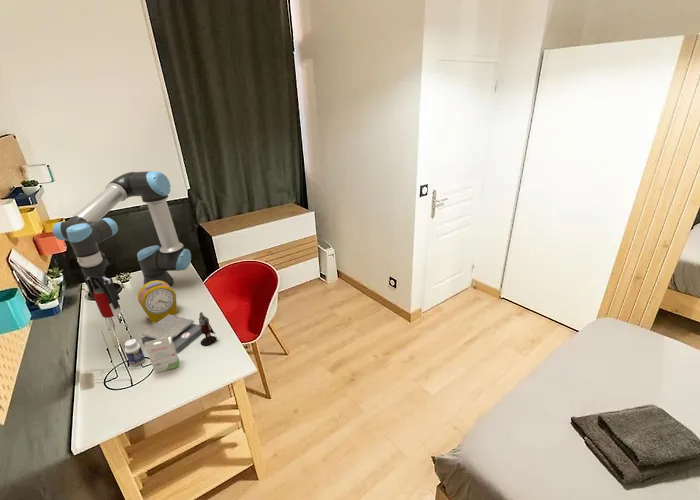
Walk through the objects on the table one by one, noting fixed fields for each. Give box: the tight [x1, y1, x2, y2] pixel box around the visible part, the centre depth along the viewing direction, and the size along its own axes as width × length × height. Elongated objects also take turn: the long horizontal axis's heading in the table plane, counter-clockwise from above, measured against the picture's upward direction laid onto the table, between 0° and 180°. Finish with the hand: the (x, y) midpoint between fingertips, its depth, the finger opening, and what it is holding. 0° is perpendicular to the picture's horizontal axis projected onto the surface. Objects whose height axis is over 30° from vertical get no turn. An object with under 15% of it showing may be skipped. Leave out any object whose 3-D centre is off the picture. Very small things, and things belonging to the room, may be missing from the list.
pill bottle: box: [124, 338, 146, 366], centre depth 141 cm, size 5×5×10 cm
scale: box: [140, 322, 203, 354], centre depth 156 cm, size 16×20×3 cm
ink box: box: [144, 337, 180, 374], centre depth 137 cm, size 9×5×15 cm, turn 110°
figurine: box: [198, 311, 217, 347], centre depth 150 cm, size 7×7×15 cm
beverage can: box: [93, 288, 121, 319], centre depth 144 cm, size 7×7×12 cm
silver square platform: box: [141, 314, 195, 339], centre depth 156 cm, size 15×15×2 cm
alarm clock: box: [137, 280, 178, 324], centre depth 169 cm, size 15×8×18 cm, turn 131°
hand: (111, 312), depth 146 cm, fingers closed on beverage can, 7 cm apart
